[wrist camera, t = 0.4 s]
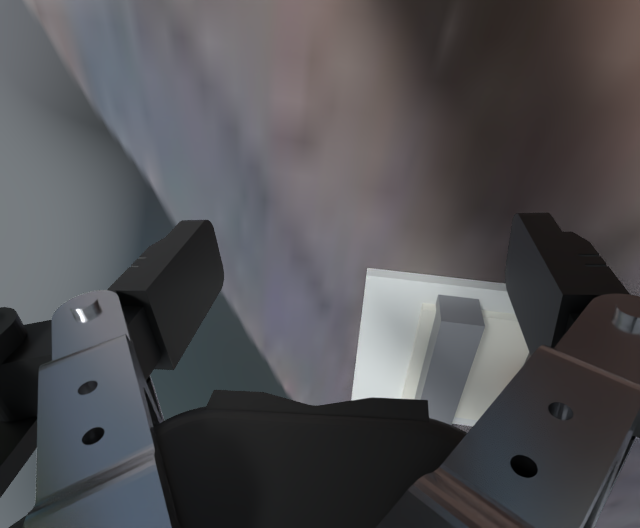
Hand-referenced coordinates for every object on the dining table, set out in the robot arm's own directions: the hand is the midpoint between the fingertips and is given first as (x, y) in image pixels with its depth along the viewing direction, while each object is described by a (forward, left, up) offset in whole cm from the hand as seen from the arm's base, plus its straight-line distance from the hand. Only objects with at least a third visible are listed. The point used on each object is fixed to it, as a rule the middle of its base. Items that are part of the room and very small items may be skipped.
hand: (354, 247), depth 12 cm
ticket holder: (+21, +8, -18) cm, 29 cm away
